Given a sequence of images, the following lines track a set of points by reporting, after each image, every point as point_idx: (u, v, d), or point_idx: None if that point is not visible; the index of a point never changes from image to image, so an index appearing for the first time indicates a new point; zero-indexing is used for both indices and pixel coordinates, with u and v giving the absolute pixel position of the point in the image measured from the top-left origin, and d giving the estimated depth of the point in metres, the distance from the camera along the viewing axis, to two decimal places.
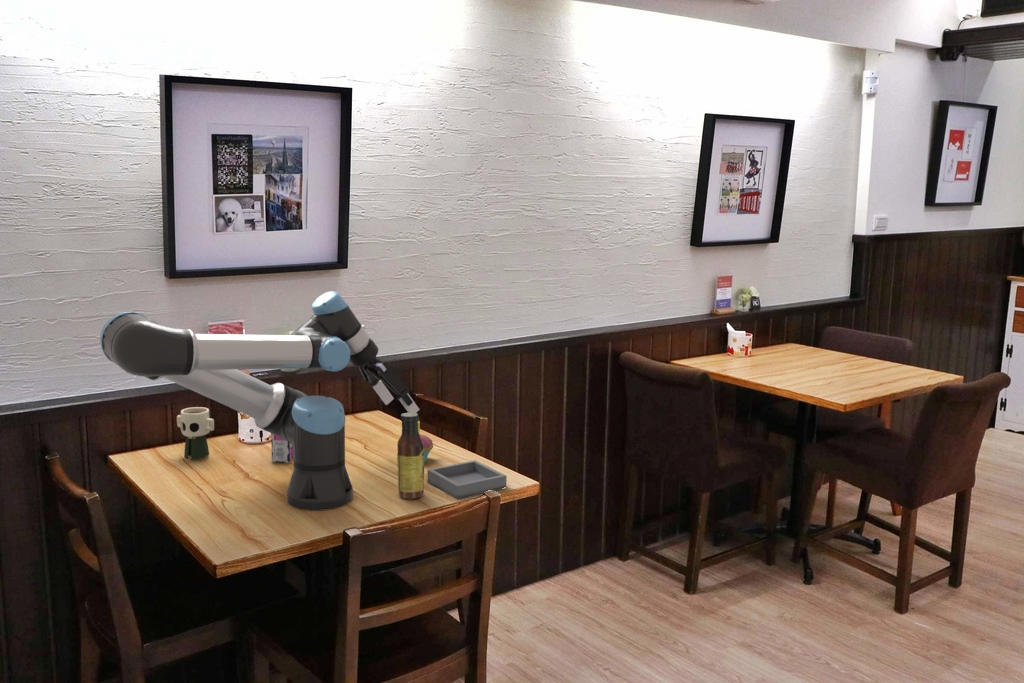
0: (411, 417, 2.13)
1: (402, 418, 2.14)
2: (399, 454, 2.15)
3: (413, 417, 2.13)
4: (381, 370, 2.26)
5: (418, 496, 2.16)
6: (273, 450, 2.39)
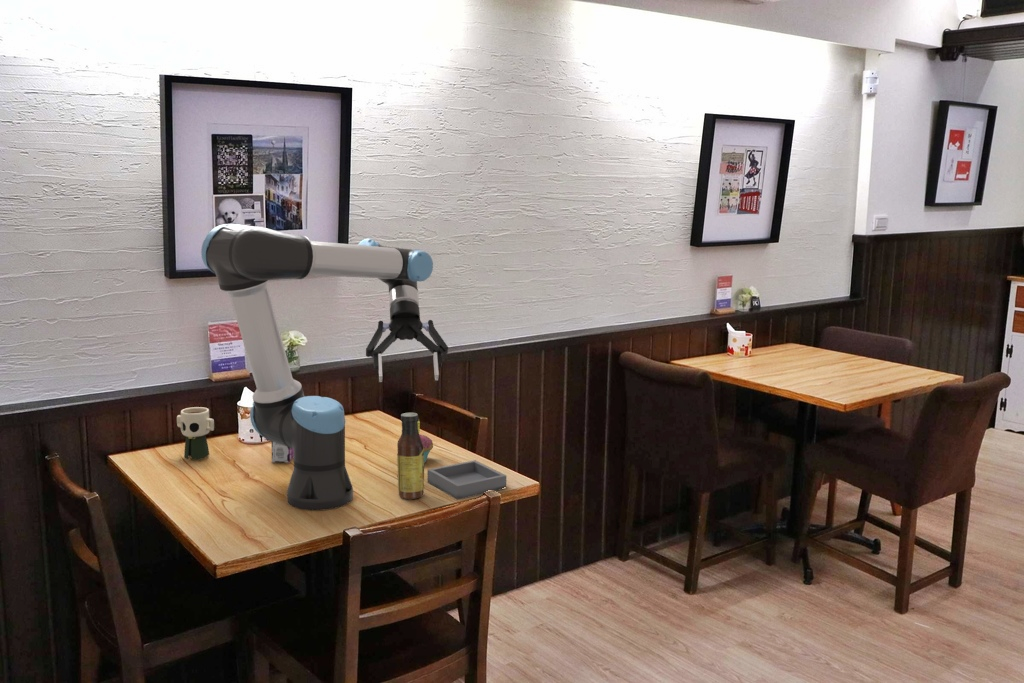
0: (411, 417, 2.13)
1: (402, 418, 2.14)
2: (399, 454, 2.15)
3: (413, 417, 2.13)
4: None
5: (418, 496, 2.16)
6: (273, 450, 2.39)
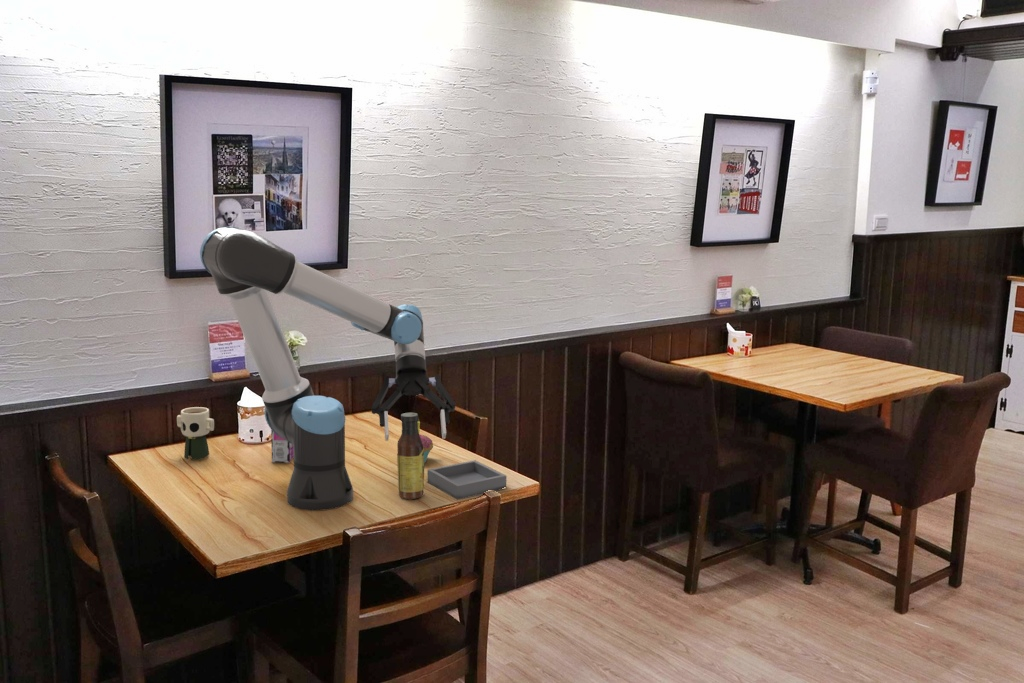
0: (411, 417, 2.13)
1: (402, 418, 2.14)
2: (399, 454, 2.15)
3: (413, 417, 2.13)
4: (439, 379, 2.28)
5: (418, 496, 2.16)
6: (273, 450, 2.39)
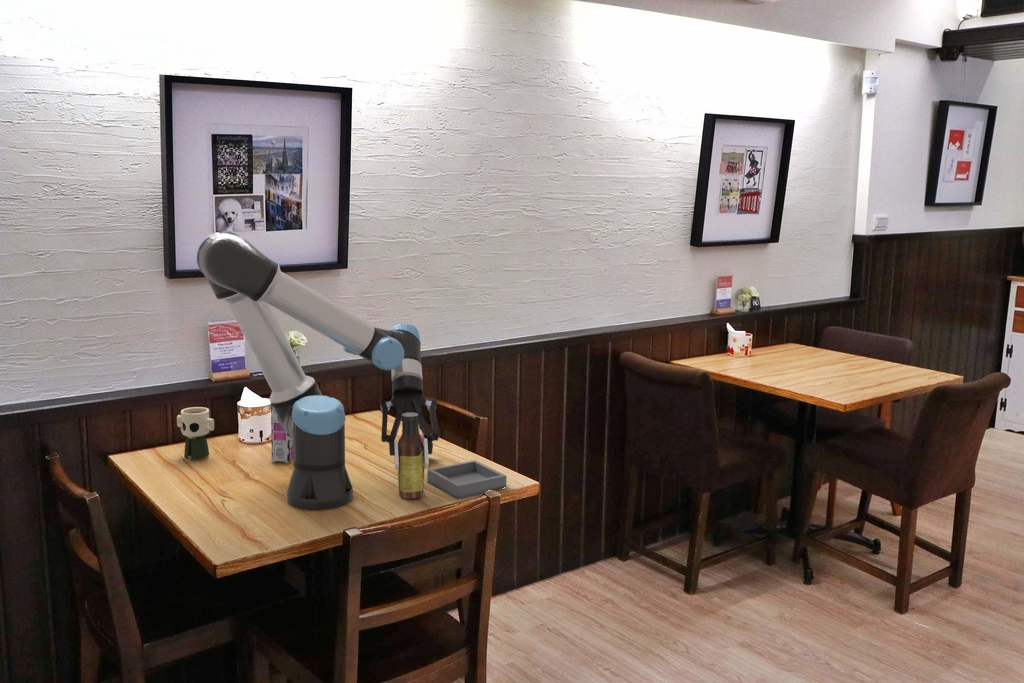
0: (411, 417, 2.13)
1: (402, 418, 2.14)
2: (399, 454, 2.15)
3: (413, 417, 2.13)
4: (435, 405, 2.22)
5: (418, 496, 2.16)
6: (273, 450, 2.39)
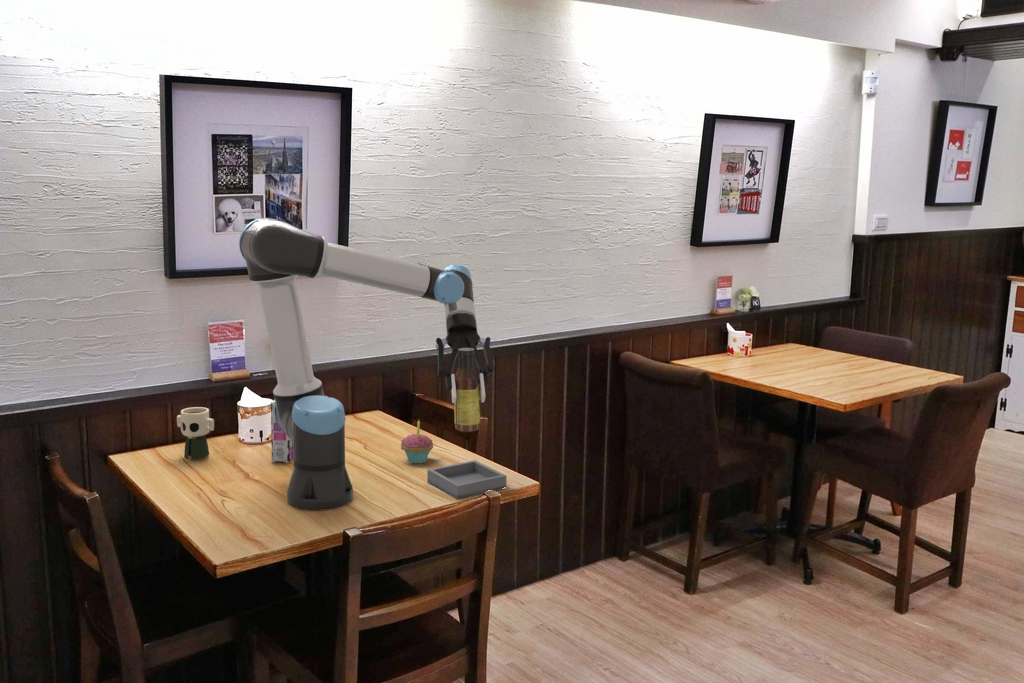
0: (468, 351, 2.18)
1: (459, 352, 2.19)
2: (456, 388, 2.19)
3: (470, 351, 2.18)
4: (489, 342, 2.27)
5: (474, 429, 2.21)
6: (273, 450, 2.39)
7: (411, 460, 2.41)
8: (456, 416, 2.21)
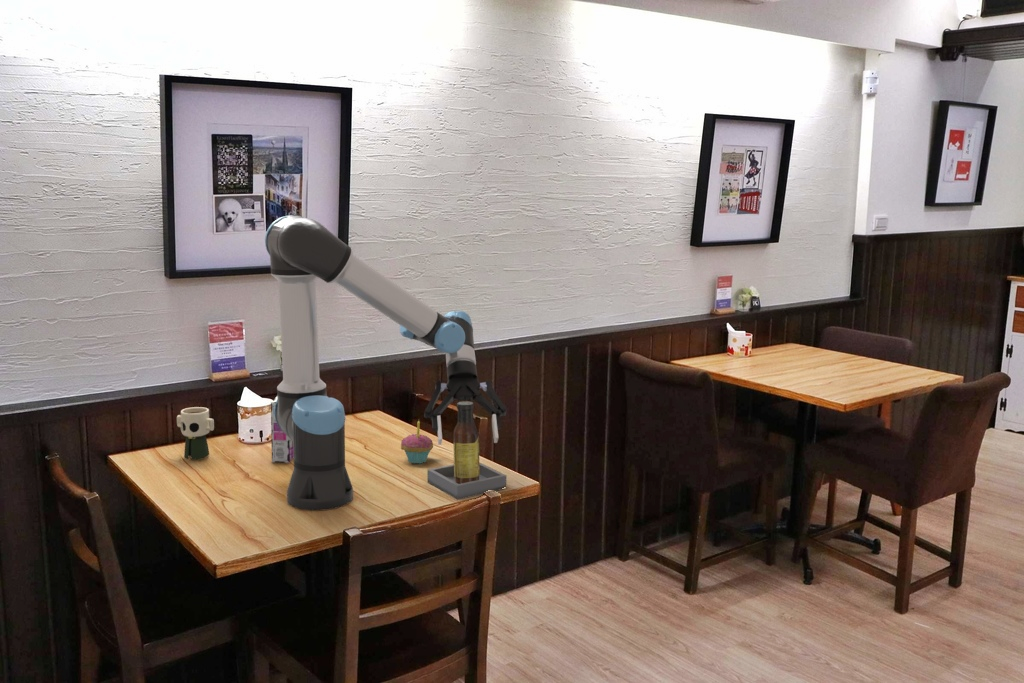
0: (467, 405, 2.21)
1: (458, 406, 2.22)
2: (455, 441, 2.22)
3: (469, 405, 2.21)
4: None
5: None
6: (273, 450, 2.39)
7: (411, 460, 2.41)
8: (456, 469, 2.23)
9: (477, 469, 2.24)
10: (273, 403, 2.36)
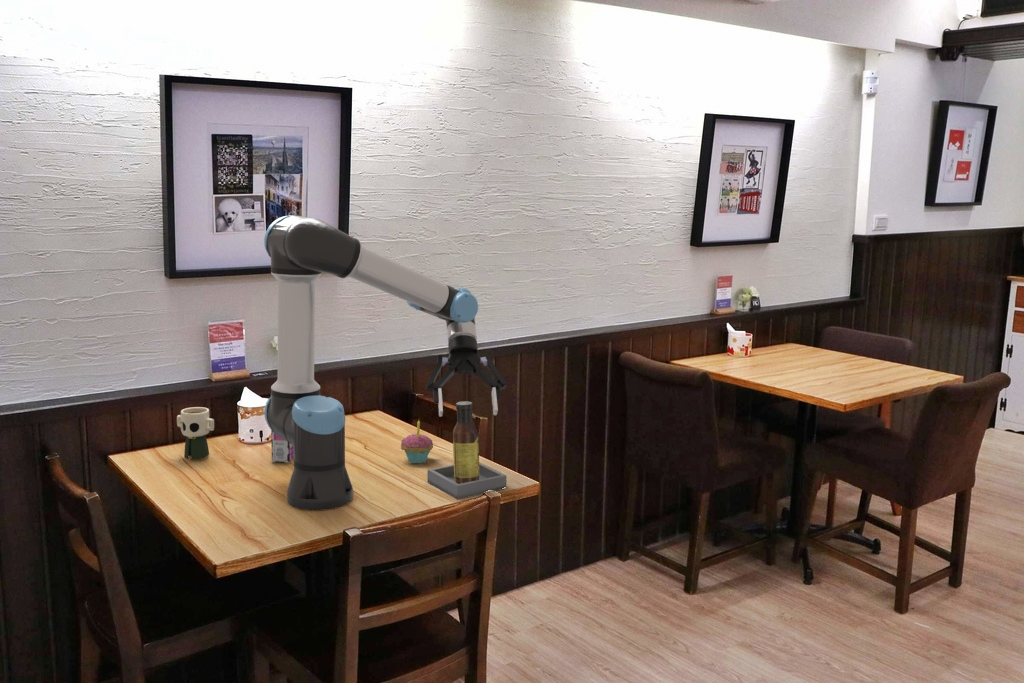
0: (466, 405, 2.21)
1: (457, 406, 2.22)
2: (455, 441, 2.22)
3: (468, 405, 2.21)
4: None
5: None
6: (273, 450, 2.39)
7: (411, 460, 2.41)
8: (455, 469, 2.23)
9: (477, 469, 2.24)
10: None
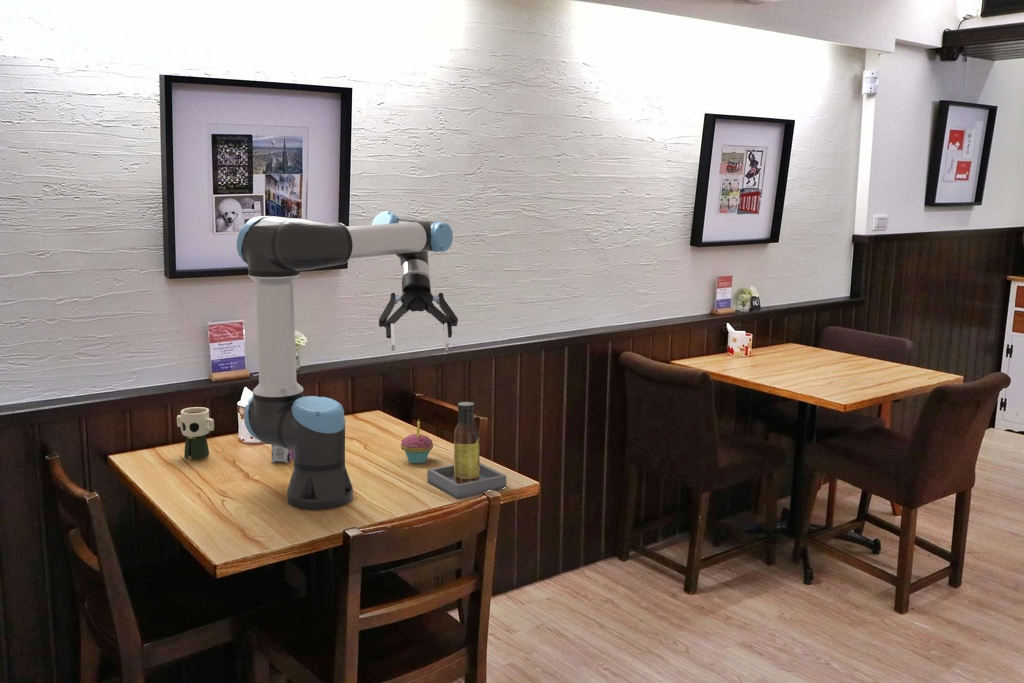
0: (468, 406, 2.21)
1: (459, 407, 2.21)
2: (456, 442, 2.22)
3: (470, 406, 2.21)
4: None
5: None
6: (273, 450, 2.39)
7: (411, 460, 2.41)
8: (456, 469, 2.23)
9: (477, 470, 2.24)
10: None
